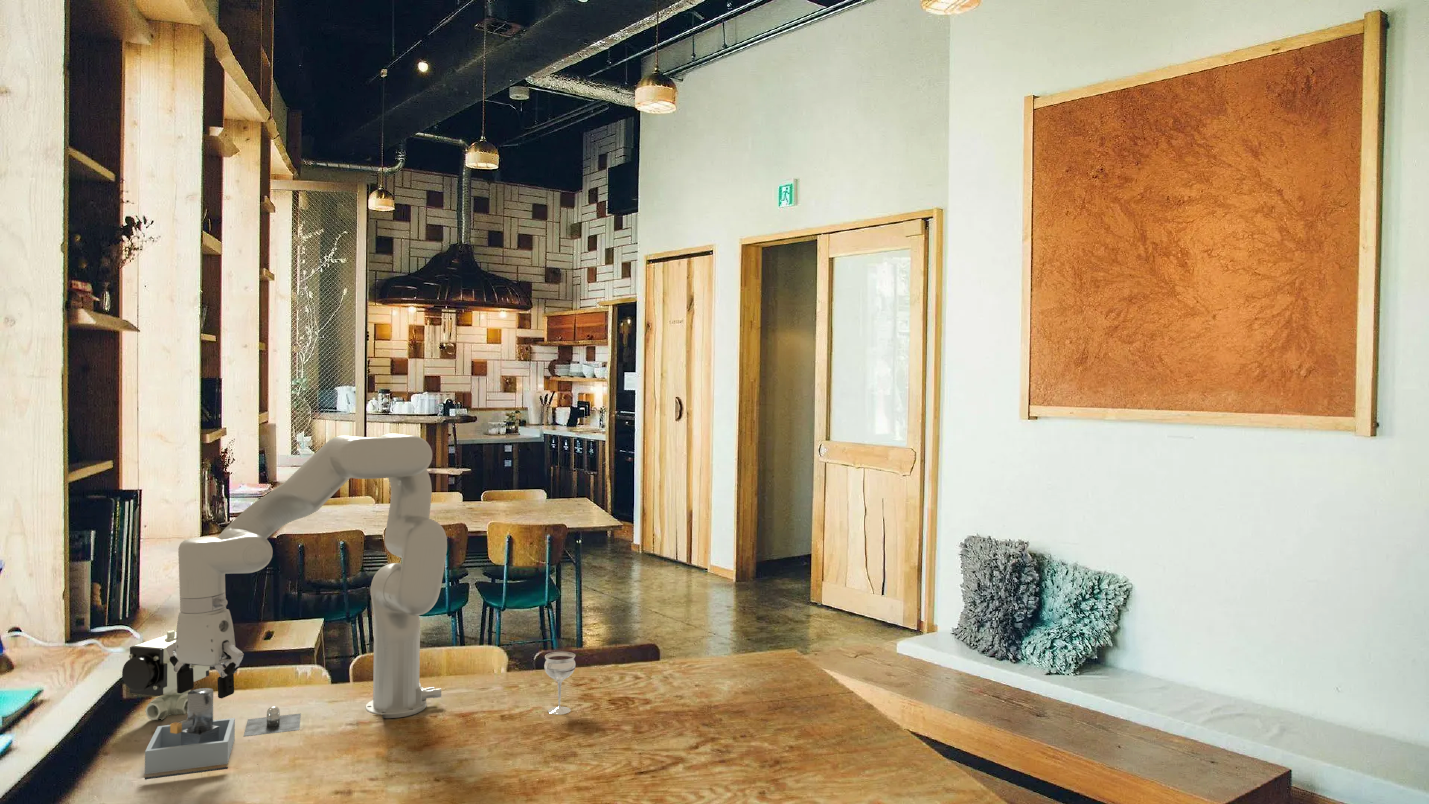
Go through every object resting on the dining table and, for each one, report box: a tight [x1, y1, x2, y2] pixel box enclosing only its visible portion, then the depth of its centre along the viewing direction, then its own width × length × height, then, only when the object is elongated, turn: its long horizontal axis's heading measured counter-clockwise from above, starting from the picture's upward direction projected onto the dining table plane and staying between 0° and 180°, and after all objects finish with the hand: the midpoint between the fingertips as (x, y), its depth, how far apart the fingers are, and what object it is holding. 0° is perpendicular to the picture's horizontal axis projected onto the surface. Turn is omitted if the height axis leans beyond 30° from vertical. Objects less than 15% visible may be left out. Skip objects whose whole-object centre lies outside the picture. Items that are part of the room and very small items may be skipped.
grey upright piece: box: [169, 687, 219, 746], centre depth 170 cm, size 8×4×12 cm, turn 163°
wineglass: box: [543, 651, 577, 715], centre depth 200 cm, size 7×7×12 cm
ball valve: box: [121, 630, 214, 721], centre depth 193 cm, size 18×8×18 cm, turn 168°
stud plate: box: [243, 705, 302, 737], centre depth 186 cm, size 10×10×5 cm
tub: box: [144, 717, 236, 780], centre depth 170 cm, size 13×13×5 cm
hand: (205, 693), depth 172 cm, fingers open, 9 cm apart
